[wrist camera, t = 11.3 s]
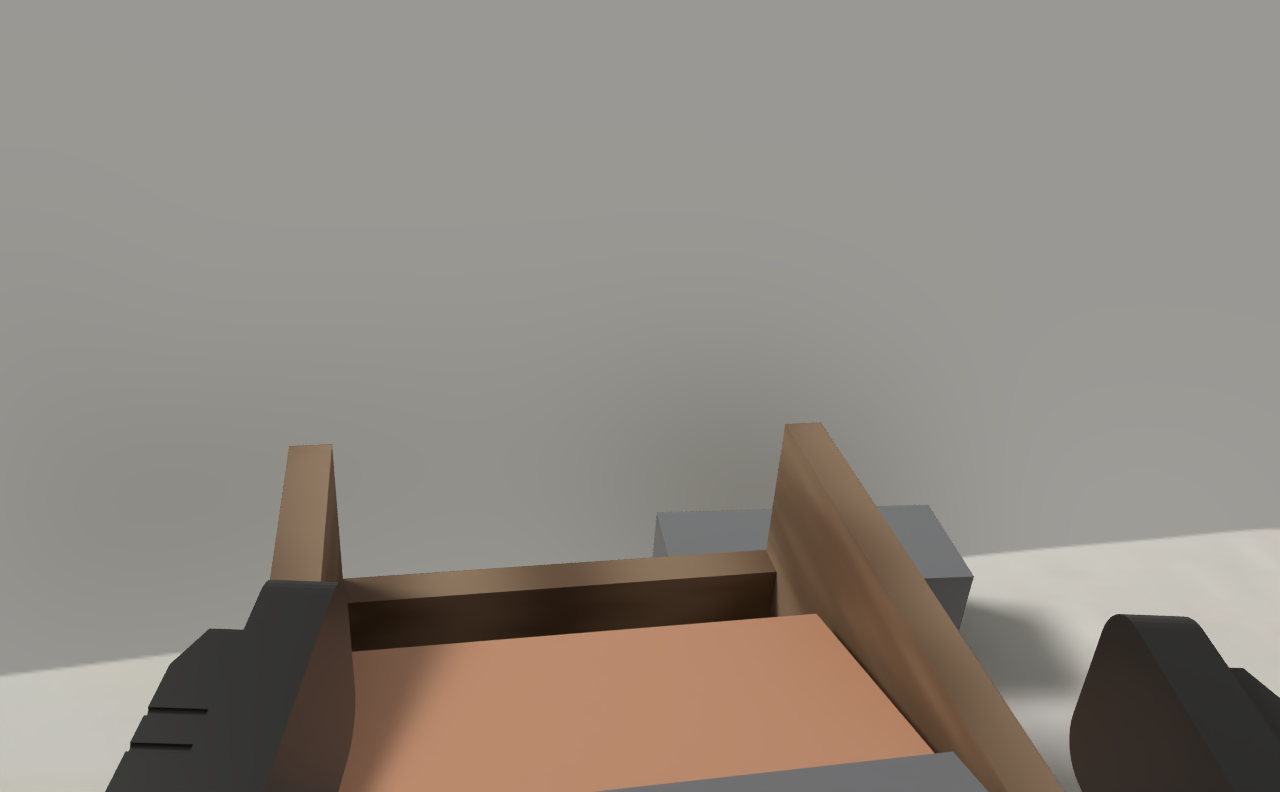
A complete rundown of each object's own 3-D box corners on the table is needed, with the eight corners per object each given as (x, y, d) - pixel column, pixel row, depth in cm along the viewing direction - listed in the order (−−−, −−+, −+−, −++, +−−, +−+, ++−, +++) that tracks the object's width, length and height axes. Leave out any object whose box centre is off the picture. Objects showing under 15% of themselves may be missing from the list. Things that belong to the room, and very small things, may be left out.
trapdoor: (812, 680, 32) (818, 577, 31) (1039, 987, 21) (1056, 838, 20) (353, 723, 29) (347, 613, 29) (323, 1103, 18) (312, 937, 17)
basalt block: (948, 668, 42) (666, 684, 40) (907, 592, 46) (648, 603, 44) (973, 576, 40) (676, 587, 38) (928, 504, 44) (656, 512, 42)
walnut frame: (776, 678, 41) (820, 422, 35) (991, 1181, 26) (1121, 877, 21) (317, 720, 37) (289, 446, 32) (272, 1324, 23) (208, 1007, 18)
